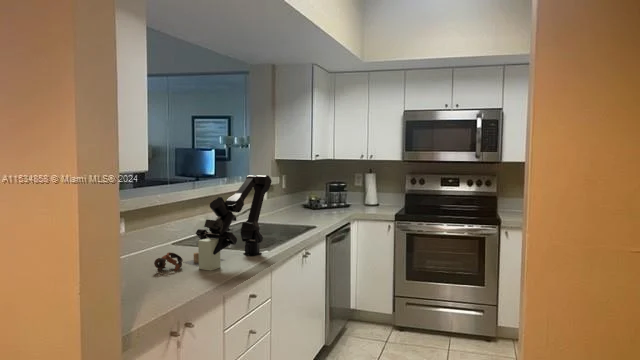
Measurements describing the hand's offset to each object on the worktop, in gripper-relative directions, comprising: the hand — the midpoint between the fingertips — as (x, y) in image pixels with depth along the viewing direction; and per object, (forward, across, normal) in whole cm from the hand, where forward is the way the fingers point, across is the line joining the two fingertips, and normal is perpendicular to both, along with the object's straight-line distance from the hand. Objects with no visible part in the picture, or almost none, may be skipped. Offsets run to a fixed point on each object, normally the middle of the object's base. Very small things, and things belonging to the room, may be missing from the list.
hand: (207, 253), depth 199 cm
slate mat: (-2, -10, +12) cm, 16 cm away
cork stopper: (0, -12, +10) cm, 15 cm away
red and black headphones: (+11, -14, -1) cm, 18 cm away
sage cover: (+4, 0, +6) cm, 7 cm away
